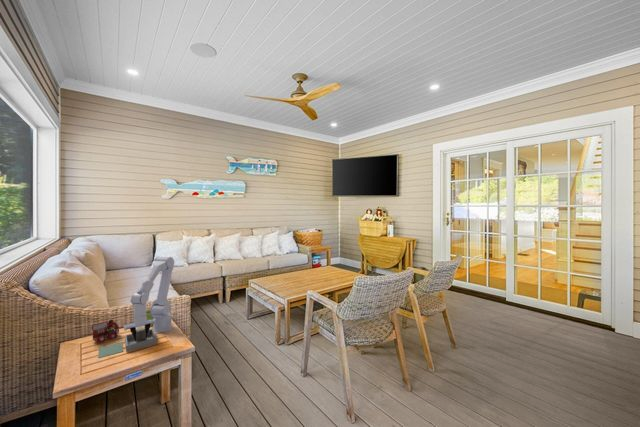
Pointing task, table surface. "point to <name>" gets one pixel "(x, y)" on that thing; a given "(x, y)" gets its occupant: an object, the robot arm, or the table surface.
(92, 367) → the table surface
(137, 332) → the box
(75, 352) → the table surface
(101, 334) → the toy fire truck
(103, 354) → the mat
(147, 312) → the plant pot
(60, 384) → the table surface
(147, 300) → the robot arm
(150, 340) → the grey tray
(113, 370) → the table surface
